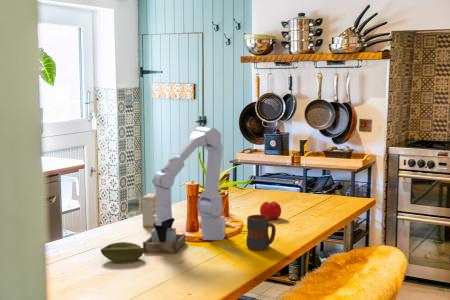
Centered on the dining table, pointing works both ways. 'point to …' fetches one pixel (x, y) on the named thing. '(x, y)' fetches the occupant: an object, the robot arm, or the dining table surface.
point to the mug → (259, 232)
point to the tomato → (270, 210)
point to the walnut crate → (164, 245)
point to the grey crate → (169, 236)
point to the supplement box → (149, 210)
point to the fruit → (122, 252)
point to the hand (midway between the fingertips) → (164, 239)
